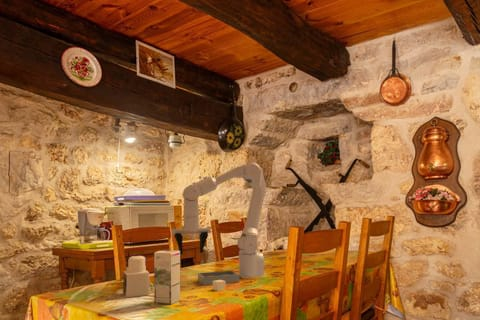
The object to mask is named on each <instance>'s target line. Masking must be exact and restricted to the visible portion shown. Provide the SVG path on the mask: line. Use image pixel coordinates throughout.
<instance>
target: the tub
mask: <svg viewBox="0 0 480 320" xmlns="http://www.w3.org/2000/svg"><path fill="white" fill-rule="evenodd" d="M224 274H230V275H224ZM211 275H214V276H211ZM206 276H209V277H206ZM216 280H223V281H226V284H234V283H235V284H236V283H237V284H238V283H240V277H239V272H238V273H237V272H236V271H234V270H223V271H222V270H221V271H209V272H207V271H206V272H198V273H197V282H199V283H200V284H201V285H202V286H204V287H205V286H211V285H212V286H213V281H216Z"/></svg>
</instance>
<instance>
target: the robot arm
mask: <svg viewBox="0 0 480 320" xmlns="http://www.w3.org/2000/svg"><path fill="white" fill-rule="evenodd" d="M263 171H264V170H263V169H262V168H261V166H260V165H259V164H258V163H256V162H249V163H247V164H242V165H239V166H236V167H234V168H232V169H230V170H228V171H226V172H224V173H221V174H219V175H218V176H216V177H213V176H204V177H203V179H200V180H198V181H197V182H196V181H194V182H192V184H189V185H187V186H186V187H185V188H184V189H183V191H182V198H183V199H184V200H183V228H172V229H171V235H173V237H174V239H175V241H176V243H177V245H178V251H180V255H184V254H183V253H184V252H183V239H184V236H183V235H190V234H191V235H194V234H198V235H199V237H198V238H199V253H200V254H203V253H204V249H205V248H204V247H205V243H206V242H207V239H208V237H209V234H211V227H200V224H199V220H200V217H199V213H200V212H199V210H200V209H199V208H200V207H199V197H203V196H205V195H207V194H209V193H212V192H214V191H216V190H217V187H218V186H219V185H221V184H223V183H225V182H227V181H231V180H232V179H234V178H237V179H242V180H244V181H245V182H247V183H248V185H250V187H251V188H252V192H251V196H250V202H249V206H248V210H247V215H246V219H245V223H244V227H243V230H242V232H241V235H240V236H239V238H238V239H237V247H238V249H239V251H238V274H239V278H242V279H247V278H258V277H265V276H266V275H265V258H264V254H263V253H262V252H258V249H259V239H258V238H259V231H258V227H259V223H260V220H261V213H262V209H263V206H264V205H263V204H264V199H265V196H266V195H265V194H266V190H267V184H266V179H265V176H264V173H263Z"/></svg>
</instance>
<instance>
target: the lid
mask: <svg viewBox="0 0 480 320" xmlns="http://www.w3.org/2000/svg"><path fill="white" fill-rule="evenodd" d="M226 287H227V285H226V281H223V280H216V281H213V285H212V290H213V291H217V292H220V291H226V290H227V288H226ZM222 295H224V293H222V294H220V296H222Z"/></svg>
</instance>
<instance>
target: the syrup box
mask: <svg viewBox="0 0 480 320" xmlns="http://www.w3.org/2000/svg"><path fill="white" fill-rule="evenodd" d="M153 254H154V257H153V258H154V259H153V260H154V262H153V263H154V265H153V267H154V269H153V270H154V271H153V273H154V275H153V277H154V278H153V279H154V280H153V281H154V282H153V283H154V284H153V286H154V291H153V293H154V294H153V295H154V297H153V298H154V299H153V301H154V302H153V303H154V304H161V305H173V304H175V303H177V302H180V301H181V254H180V251H179V250H173V249H172V250H165V249H164V250H162V249H161V250H157V251H155V252H153Z"/></svg>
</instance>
